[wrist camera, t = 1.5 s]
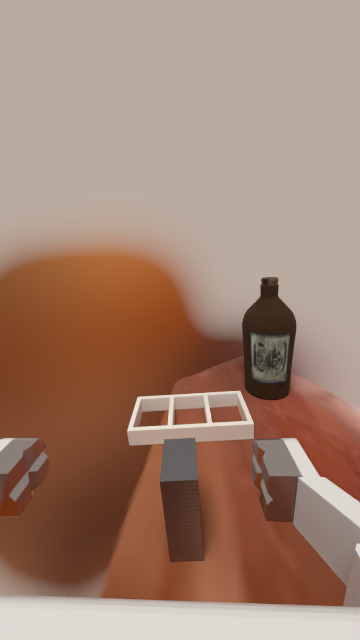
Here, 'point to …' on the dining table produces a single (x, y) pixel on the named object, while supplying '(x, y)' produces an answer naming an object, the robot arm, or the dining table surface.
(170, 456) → the dark grey metallic block
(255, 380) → the olive oil
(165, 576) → the dining table surface
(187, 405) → the rack
